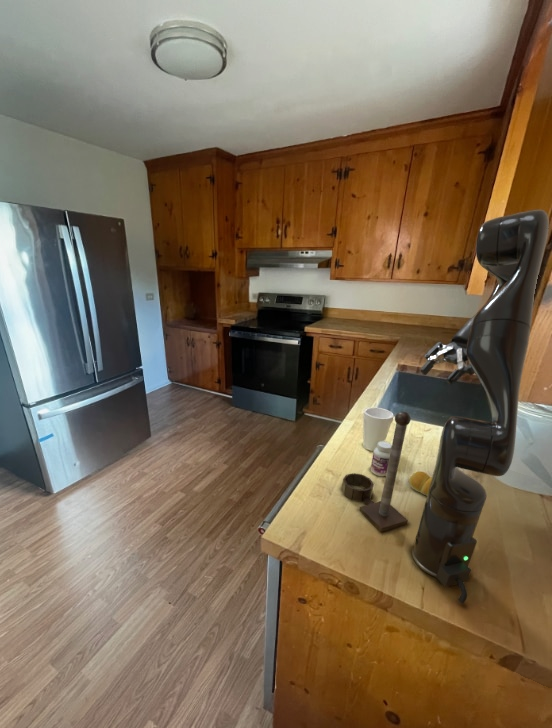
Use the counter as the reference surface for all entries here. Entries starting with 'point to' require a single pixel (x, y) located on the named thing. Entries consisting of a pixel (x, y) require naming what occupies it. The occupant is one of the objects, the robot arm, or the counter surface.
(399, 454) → the towel stand
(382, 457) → the pill bottle
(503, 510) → the counter surface
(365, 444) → the foam cup
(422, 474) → the bread roll
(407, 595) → the counter surface
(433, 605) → the counter surface
